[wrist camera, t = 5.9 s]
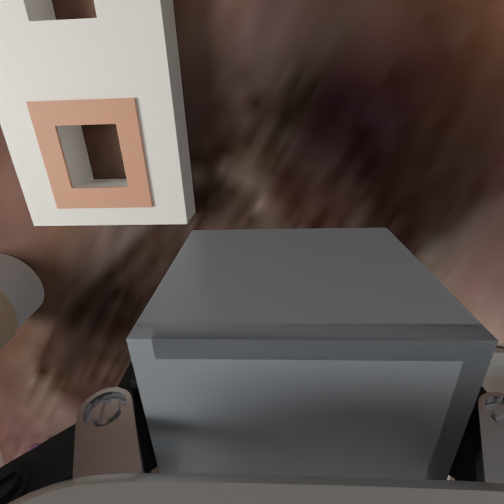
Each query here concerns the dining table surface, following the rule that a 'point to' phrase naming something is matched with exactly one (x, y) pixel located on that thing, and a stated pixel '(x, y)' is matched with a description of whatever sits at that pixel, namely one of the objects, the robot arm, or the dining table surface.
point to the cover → (306, 357)
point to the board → (95, 111)
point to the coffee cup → (17, 295)
